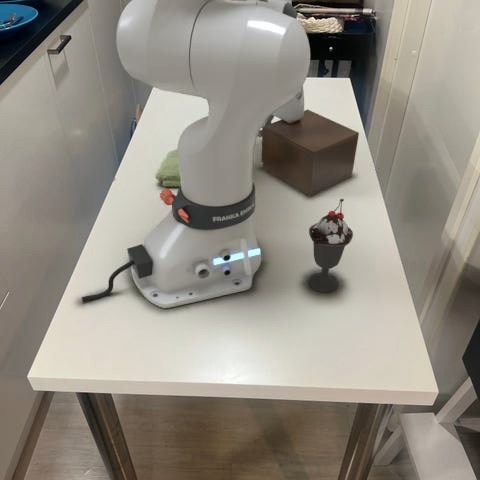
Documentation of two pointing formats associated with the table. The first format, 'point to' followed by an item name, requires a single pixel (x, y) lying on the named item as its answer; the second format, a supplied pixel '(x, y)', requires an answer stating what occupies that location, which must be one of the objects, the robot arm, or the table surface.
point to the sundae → (328, 248)
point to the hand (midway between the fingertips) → (265, 128)
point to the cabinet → (309, 152)
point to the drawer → (261, 134)
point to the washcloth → (170, 170)
